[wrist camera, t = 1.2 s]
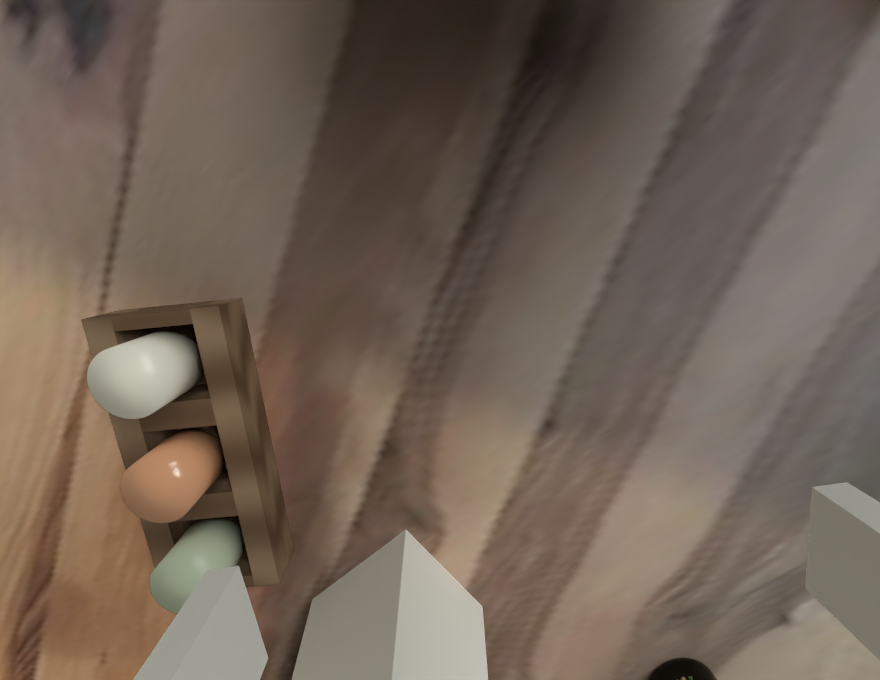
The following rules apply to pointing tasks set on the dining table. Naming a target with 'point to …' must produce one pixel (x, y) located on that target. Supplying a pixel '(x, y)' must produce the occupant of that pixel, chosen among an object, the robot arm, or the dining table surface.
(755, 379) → the dining table surface
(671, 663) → the supplement bottle
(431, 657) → the milk
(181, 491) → the peach rounded cylinder
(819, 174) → the dining table surface
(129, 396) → the off-white button
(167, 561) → the pale green domed cylinder
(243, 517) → the wooden compartment tray
